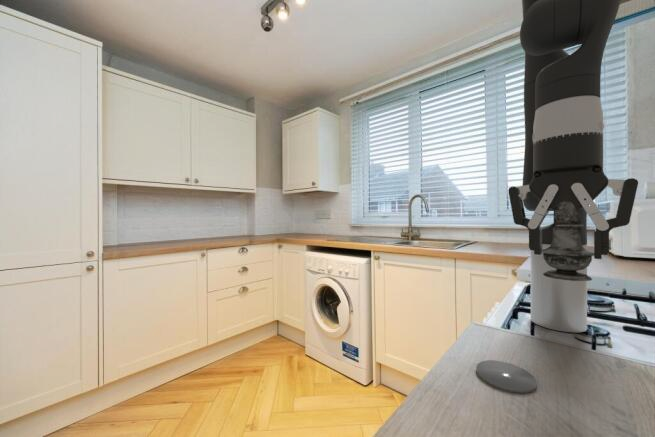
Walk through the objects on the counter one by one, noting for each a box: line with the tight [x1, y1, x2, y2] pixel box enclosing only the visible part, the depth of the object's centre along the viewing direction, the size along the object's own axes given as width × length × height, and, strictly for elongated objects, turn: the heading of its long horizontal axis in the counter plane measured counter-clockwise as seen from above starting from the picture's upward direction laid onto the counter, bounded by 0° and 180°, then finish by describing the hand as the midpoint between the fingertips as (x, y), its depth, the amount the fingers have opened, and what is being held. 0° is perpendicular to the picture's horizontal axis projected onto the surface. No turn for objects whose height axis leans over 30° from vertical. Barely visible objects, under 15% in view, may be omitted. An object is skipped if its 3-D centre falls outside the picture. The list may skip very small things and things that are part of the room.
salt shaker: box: [541, 201, 594, 282], centre depth 40 cm, size 6×6×12 cm
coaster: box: [476, 359, 537, 394], centre depth 40 cm, size 7×7×1 cm
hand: (566, 255), depth 40 cm, fingers closed on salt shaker, 6 cm apart
